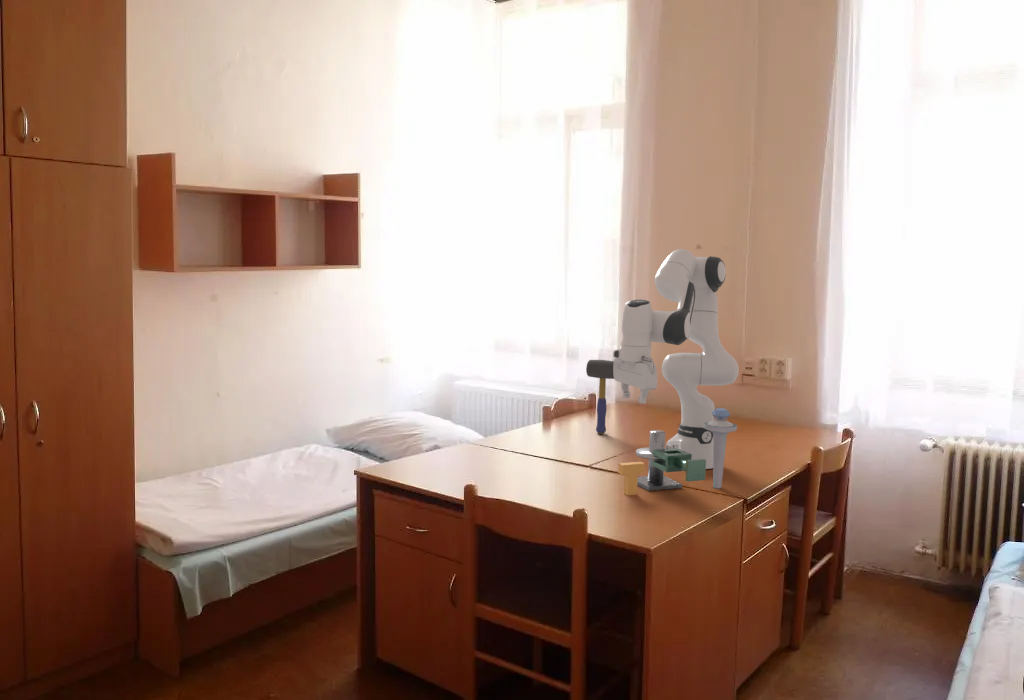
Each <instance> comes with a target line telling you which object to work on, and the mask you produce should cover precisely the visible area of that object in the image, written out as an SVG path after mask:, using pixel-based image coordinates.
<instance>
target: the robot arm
mask: <svg viewBox="0 0 1024 700" xmlns="http://www.w3.org/2000/svg"><path fill="white" fill-rule="evenodd" d="M726 271H727V270H726V265H725V263H724V261H723V260H722V259H721V257H718V256H712V255H711V256H695V255H694V254H693V253H692V252H691V251H690V250H687V249H684V248H677V249H675V250H673V251H672V252H670V254H669V255H668V256H666V258H665V259H664V261H663V262H662V263H661V265H660V267H659V268H658V270H657V271H656V274H655V277H654V285H655V288H656V290H657V292H658V294H659V295H660V296H662V297H663V298H664V299H666V300H668V301H672V302H675V303H678V304H677V305H678V306H677V309H675V310H670V311H669V310H654V309H652V305H651V301H649V300H646V299H631V300H628V301H626V302H625V304H624V308H623V313H622V320H621V321H622V323H621V324H622V325H621V331H622V341H621V343H620V344H621V345H620V347H619V348H617V349H614V350H613V352H612V357H613V358H614V360H613V361H614V365H613V375H614V379H613V380H614V381H615V382H619V383H620V389H621V391H622V398H624V399H630V398H631V392H630V389H629V386H632V387H635V388H638V389H639V390H640V396H638V403H639V404H646V403H647V398H648V395H649V393H650V391H652V390H656V389H657V387H658V372H657V371H658V370H657V366H656V363H655V362H654V359H653V358H652V343H660V344H661V343H663V344H669V345H673V346H674V345H675V346H680V345H682V344H683V343H685V342H686V341H687V340H689V341H691V342H693V343H694V344H696V345H699V346H700V347H701V350H702V352H677V353H676V352H675V353H670V354H667V355H666V356H665V358H664V359H663V361H662V363H661V373H662V376H663V378H664V379H665V381H667V382H668V383H669V384H670V385H671V386H672V387H673V388H674V390H675V391H676V392H677V395H678V396H679V400H680V406H681V407H680V408H681V409H680V410H681V411H680V412H681V414H680V415H681V419H680V420H681V421H680V423H677V424H676V425H677V426H676V428H678V429H677V433H676V434H675V435H673V436H672V437H671V438H670V439H668V440H667V441H666V442H665V448H666V449H671V448H677V449H680V450H682V451H685V452H687V453H690V454H692V458H691V460H698V459H705V460H706V470H708V469H709V470H710V469H713V432H711V431H710V430H707V429H705V428H704V423H705V422H709V421H713V420H715V418H714V416H713V415H712V412H713V411H714V410H715V409H716V408H715V403H714V401H713V400H712V399H710V397H708V396H707V395H705V394H702V393H701V392H699V391H698V386H713V387H714V386H716V387H717V386H718V387H720V386H726V385H732V384H734V383H735V381H736V380H737V379H738V377H739V371H740V369H739V368H740V367H739V364H738V362H737V360H736V359H735V358H734V356H732V355H731V354H730V353H729V352H728V351H727V350H726V349H725V348H724V345H723V344H722V342H721V339H720V335H719V325H718V324H719V323H718V321H719V305H718V304H719V303H718V294H717V292H718V290H719V289H720V288H721V287H722V285H723V284H724V282H725V280H726V275H727V273H726Z"/></svg>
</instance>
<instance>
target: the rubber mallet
mask: <svg viewBox="0 0 1024 700" xmlns="http://www.w3.org/2000/svg"><path fill="white" fill-rule="evenodd" d="M586 363H587V364H586V369H585V370H586V371H585V372H586V375H587V377H589V378H596V379H599V385H598V386H599V388H598V398H597V403H596V415H597V416H596V417H597V418H596V427H595V428H596V429H595V431H596V432H597V434H598V435H605V433H606V432H607V427H606V416H607V399H606V390H607V389H606V388H607V387H606V385H607V381H606V380H615V379H614V375H613V365H614V360H607V359H606V360H605V359H589V360H588V361H587V362H586Z"/></svg>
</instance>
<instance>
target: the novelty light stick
mask: <svg viewBox="0 0 1024 700" xmlns="http://www.w3.org/2000/svg"><path fill="white" fill-rule="evenodd" d="M712 415H713V416H714V420H713V421H709V422H705V423H704V428H705V429H707V430H710V431H711V432H713V468H712V475H713V476H712V477H713V479H712V487H713V488H714V489H722V487H723V485H722V484H723V476H724V466H725V465H724V464H725V459H726V458H725V457H726V447H727V446H726V445H727V439H728V438H727V437H728V435H729V433H731V432H736V431H737V430H738V424H736V423H733V422H730V421H728V418H729V417H730V416H731V413H730V411H728V409H726V408H724V407H723V408H722V407H717V408H714V411H713V412H712Z"/></svg>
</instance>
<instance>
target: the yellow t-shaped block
mask: <svg viewBox="0 0 1024 700" xmlns="http://www.w3.org/2000/svg"><path fill="white" fill-rule="evenodd" d="M645 465H646V464H645V463H644V462H642V461H630V462H618V467H617V470H618V474H619V475H621V476H624V482H623V483H624V484H623V494H624V495H626V496H637V495H638V485H637V484H638V477H639V474H645Z"/></svg>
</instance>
